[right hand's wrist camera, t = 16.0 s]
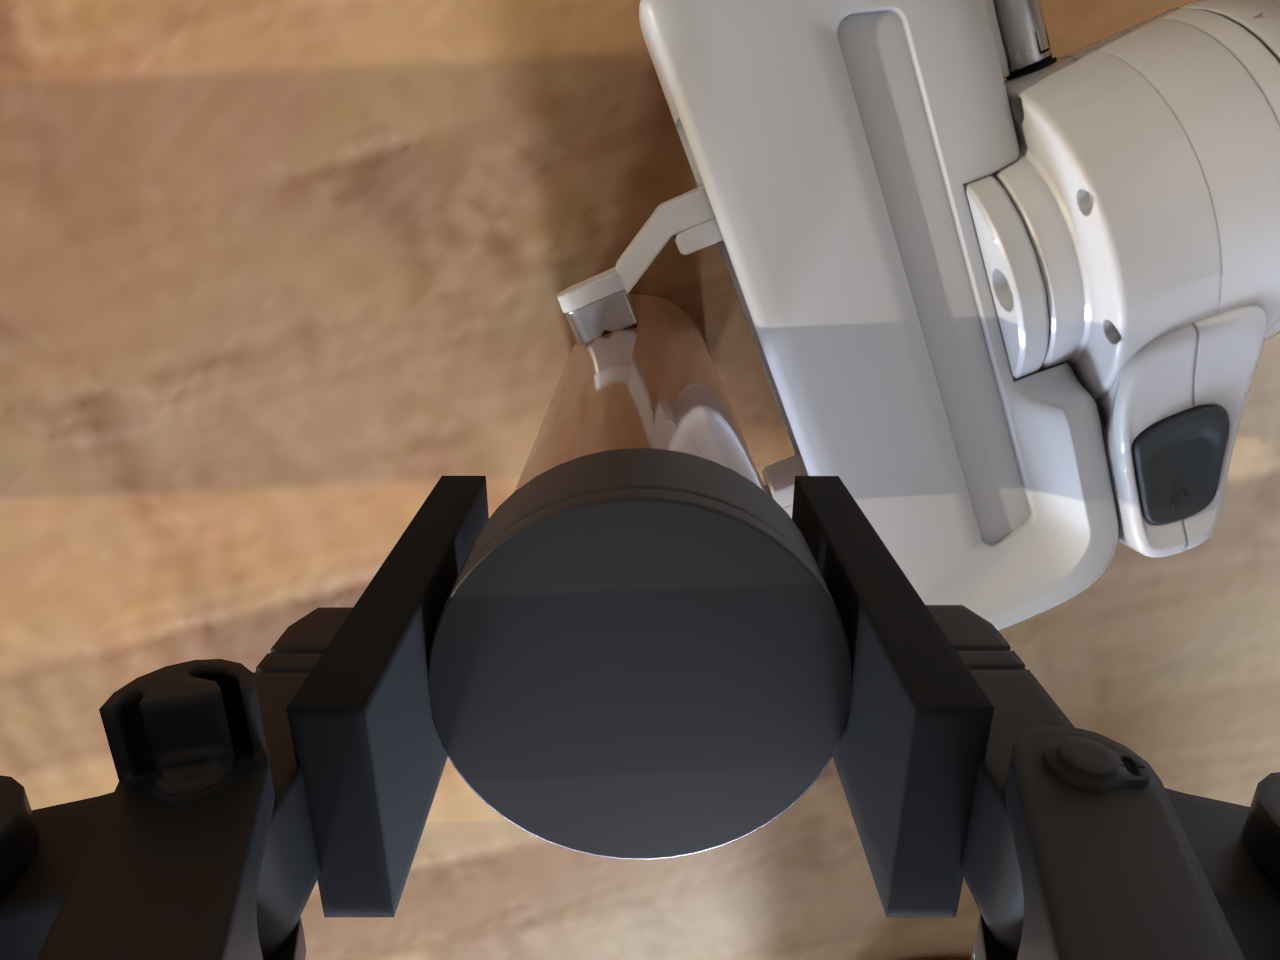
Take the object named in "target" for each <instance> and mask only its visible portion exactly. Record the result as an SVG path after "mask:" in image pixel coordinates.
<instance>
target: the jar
mask: <svg viewBox="0 0 1280 960" xmlns="http://www.w3.org/2000/svg"><path fill="white" fill-rule="evenodd" d="M630 296H631V299H632V302H633V304H634V307H635V309H636V312H637V317H636V318H637V323H636V324H634V325H631V326H629V327H627V328H624V329H622V330H618V331H615V332H610V331H606V330H605V331H604V332H603V334H602V335H601V337H600V338H598V339H596V340H594V341H593V342H590V343H587V344H584V345H578V343H577V341H575V344H574V346H573V349H572V351H571V354H570V356H569V358H568V361H567V363H566V366H565V368H564V371H563V373H562V376H561V378H560V381H559V383H558V385H557V388H556V390H555V393H554V395H553V398H552V400H551V403H550V405H549V408H548V410H547V413H546V415H545V417H544V420H543V422H542V425H541V427H540V430H539V432H538V435H537V437H536V440H535V442H534V444H533V447H532V449H531V452H530V454H529V457H528V459H527V462H526V464H525V467H524V469H523V471H522V474H521V476H520V479H519V481H518V484H517V486H516V489H515V491H516V490H518V489H519V488H520V487H522V486H523V485H525V484H526V483H528V482H529V481H530V480H532V479H533V478H535V477H536V476H538V475H540V474H542V473H544V472H546V471H548V470H549V469H551V468H553V467H555V466H557V465H559V464H562V463H565V462H568V461H570V460H573V459H576V458H579V457H581V456H585V455H590V454H594V453H598V452H603V451H607V450H617V449H628V448H652V449H664V450H671V451H677V452H684V453H687V454H691V455H694V456H698V457H702V458H705V459H709V460H711V461H713V462H716V463H718V464H720V465H723V466H725V467H727V468H730V469H732V470H734V471H735V472H737V473H739V474H740V475H742V476H744V477H745V478H747V479H749V480H750V481H752V482H754V483H755V484H756V485H757V486H759V487H760V488H761V489H762V490H764V491H765V488H764V486H763V483H762V481H761V478H760V476H759V473H758V471H757V469H756V466H755V464H754V461H753V459H752V456H751V454H750V451H749V449H748V446H747V444H746V442H745V439H744V437H743V434H742V432H741V429H740V427H739V424H738V422H737V419H736V417H735V414H734V412H733V410H732V407H731V405H730V402H729V400H728V397H727V395H726V392H725V390H724V387H723V385H722V383H721V380H720V378H719V375H718V373H717V370H716V368H715V365H714V363H713V360H712V358H711V355H710V353H709V351H708V348H707V346H706V343H705V341H704V338H703V336H702V334H701V331H700V329H699V328H698V326H697V324H696V323H695V322H694V320H693V319H692V318H691V317H690V316H689V315H688V314H687V313H686V312H685V311H684V310H683V309H682V308H680V307H679V306H678V305H676V304H674V303H673V302H671V301H669V300H666V299H664V298H661V297H658V296H653V295H646V294H633V295H630ZM515 491H514V492H515ZM765 492H766V491H765Z"/></svg>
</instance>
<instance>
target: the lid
mask: <svg viewBox="0 0 1280 960" xmlns="http://www.w3.org/2000/svg"><path fill="white" fill-rule="evenodd" d="M852 677H853V661H852V655H851V649H850V643H849V638H848V636H847V633H846V630H845V627H844V624H843V621H842V618H841V615H840V613H839V611H838V609H837V606H836V604H835V602H834V600H833V598H832V596H831V593H830V591H829V589H828V587H827V585H826V583H825V580H824V578H823V576H822V574H821V572H820V570H819V567H818V565H817V563H816V561H815V559H814V557H813V554H812V552H811V550H810V548H809V546H808V544H807V542H806V541H805V539H804V537H803V535H802V533H801V531H800V530H799V529H798V527H797V526H796V524H795V523H794V522H793V520H792V519H791V517H790V516H789V515H788V513H787V512H786V511H785V510H784V509H783V508H782V507H781V506H780V505H779V504H778V503H777V502H776V501H775V500H774V499H773V498H772V497H771V496H770V495H769V494H767V493H766V492H765V491H764V490H762V489H761V488H760V487H759V486H757V485H756V484H755V483H754V482H752V481H750V480H749V479H747V478H745V477H744V476H742V475H740V474H739V473H737V472H735V471H734V470H732V469H730V468H727V467H725V466H723V465H720V464H718V463H716V462H713V461H711V460H709V459H705V458H702V457H698V456H694V455H691V454H687V453H684V452H677V451H671V450H664V449H652V448H628V449H617V450H607V451H603V452H598V453H594V454H590V455H585V456H581V457H579V458H576V459H573V460H570V461H568V462H565V463H562V464H559V465H557V466H555V467H553V468H551V469H549V470H548V471H546V472H544V473H542V474H540V475H538V476H536V477H535V478H533V479H532V480H530V481H529V482H528V483H526V484H525V485H523V486H522V487H520V488H519V489H518V490H516V491H515V492H514V493H513V494H512V495H511V496H510V497H509V498H508V499H507V500H505V501H504V502H503V503H502V504H501V505H500V506H499V507H498V508H497V510H496V511H495V512H494V513H493V515H492V516H491V517H490V518H489V519H488V521H487V522H486V523H485V524H484V526H483V528H482V529H481V531H480V533H479V534H478V536H477V538H476V540H475V541H474V543H473V545H472V547H471V549H470V551H469V553H468V555H467V558H466V560H465V562H464V564H463V566H462V568H461V571H460V573H459V575H458V577H457V579H456V581H455V583H454V586H453V588H452V590H451V592H450V595H449V596H448V599H447V601H446V603H445V605H444V607H443V610H442V612H441V615H440V617H439V619H438V622H437V624H436V627H435V629H434V633H433V637H432V642H431V646H430V650H429V656H428V681H429V691H430V700H431V709H432V717H433V722H434V726H435V728H436V731H437V733H438V736H439V738H440V741H441V743H442V746H443V748H444V750H445V751H446V753H447V755H448V757H449V758H450V760H451V762H452V764H453V765H454V767H455V769H456V770H457V771H458V772H459V774H460V775H461V776H462V778H463V779H464V780H465V782H466V783H467V784H468V786H469V787H470V788H471V789H472V790H473V791H474V792H475V793H476V794H477V795H478V796H479V797H480V798H481V799H482V800H483V801H484V802H485V803H486V804H487V805H489V806H490V807H491V808H493V809H494V810H495V811H496V812H498V813H499V814H500V815H501V816H503V817H504V818H505V819H507V820H508V821H510V822H512V823H513V824H515V825H517V826H518V827H520V828H522V829H523V830H525V831H527V832H529V833H531V834H533V835H535V836H537V837H539V838H541V839H544V840H546V841H548V842H550V843H553V844H556V845H559V846H562V847H565V848H568V849H571V850H574V851H579V852H583V853H587V854H592V855H596V856H604V857H612V858H620V859H658V858H671V857H678V856H683V855H688V854H694V853H699V852H702V851H706V850H709V849H712V848H716V847H719V846H722V845H725V844H727V843H730V842H732V841H735V840H737V839H739V838H742V837H744V836H746V835H748V834H750V833H752V832H754V831H755V830H757V829H759V828H761V827H763V826H764V825H766V824H768V823H769V822H771V821H772V820H773V819H775V818H776V817H778V816H779V815H780V814H782V813H783V812H785V811H786V810H787V809H788V808H790V807H791V806H792V805H793V804H794V803H795V802H796V801H797V800H798V799H799V798H801V797H802V796H803V795H804V794H805V793H806V792H807V790H808V789H809V788H810V787H811V786H812V785H813V783H814V782H815V781H816V780H817V779H818V778H819V776H820V775H821V774H822V772H823V770H824V769H825V767H826V766H827V764H828V763H829V761H830V760H831V758H832V757H833V755H834V753H835V750H836V748H837V746H838V744H839V742H840V740H841V738H842V735H843V733H844V729H845V726H846V723H847V719H848V714H849V706H850V697H851V688H852Z"/></svg>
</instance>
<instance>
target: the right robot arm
mask: <svg viewBox="0 0 1280 960" xmlns="http://www.w3.org/2000/svg"><path fill="white" fill-rule="evenodd" d="M488 519H489V517H488V503H487V489H486V476H442V477H441V478H440V480H439V481H438V483H437V484H436V486H435V487H434V489H433V490H432V492H431V493H430V495H429V496H428V498H427V499H426V501H425V502H424V504H423V505H422V507H421V508H420V509H419V511H418V512H417V514H416V515H415V517H414V518H413V520H412V521H411V523H410V524H409V526H408V527H407V529H406V530H405V532H404V533H403V535H402V536H401V538H400V539H399V541H398V542H397V544H396V545H395V547H394V548H393V550H392V551H391V553H390V554H389V556H388V557H387V559H386V560H385V562H384V563H383V564H382V566H381V567H380V569H379V570H378V572H377V573H376V575H375V576H374V578H373V579H372V581H371V582H370V584H369V585H368V587H367V588H366V590H365V591H364V593H363V594H362V596H361V597H360V599H359V600H358V602H357V603H356V605H355V606H354V608H317V609H316V610H314V611H312V612H311V613H309V614H308V615H306V616H305V617H303V618H301V619H300V620H298V621H297V622H295V623H294V624H292V625H291V626H289V627H288V628H287V629H286V631H285V632H284V633H283V634H282V636H281V637H280V638H279V640H278V641H277V642H276V643H275V645H274V646H273V647H272V648H271V653H270V654H267V655H266V656H265V657H264V659H263V660H262V661H261V662H260V664H259V665H258V666H257V667H256V673H252V672H251V671H250V670H248V669H247V668H246V667H245V666H243V665H242V664H241V663H236V662H232V661H227V660H222V659H211V660H193V661H189V662H184V663H180V664H175V665H171V666H166V667H164V668H161V669H159V670H156V671H154V672H151V673H149V674H146V675H144V676H141V677H139V678H137V679H135V680H133V681H132V682H130V683H129V684H127V685H126V686H124V687H122V688H121V689H119V690H118V691H116V692H115V693H113V695H112V696H111V697H110V698H109V699H108V700H107V701H106V702H105V703H104V705H103V706H102V707H101V708H100V709H99V711H100V714H101V718H102V721H103V725H104V728H105V732H106V736H107V739H108V743H109V746H110V750H111V753H112V757H113V761H114V764H115V768H116V771H117V775H118V778H119V783H118V785H117V787H116V790H115V792H113V793H109V794H106V795H102V796H98V797H94V798H89V799H84V800H80V801H75V802H70V803H65V804H61V805H56V806H51V807H47V808H42V809H37V810H33V811H31V808H30V805H29V802H28V799H27V796H26V793H25V790H24V787H23V786H22V785H21V784H19V783H18V782H17V781H16V780H14V779H13V778H12V777H7V776H0V960H305V954H306V946H305V938H304V931H303V926H302V921H301V916H300V915H301V913H302V911H303V909H304V907H305V905H306V902H307V900H308V898H309V896H310V894H311V892H312V890H313V887H314V885H315V883H316V881H317V879H318V884H319V890H320V895H321V901H322V906H323V912H324V917H394V915H395V912H396V909H397V906H398V903H399V900H400V897H401V894H402V891H403V888H404V885H405V882H406V879H407V876H408V873H409V870H410V868H411V865H412V862H413V859H414V856H415V853H416V850H417V847H418V844H419V841H420V838H421V835H422V832H423V829H424V826H425V823H426V820H427V817H428V814H429V811H430V808H431V805H432V802H433V799H434V796H435V793H436V790H437V787H438V784H439V781H440V778H441V775H442V772H443V769H444V766H445V763H446V760H447V757H448V755H447V753H446V751H445V750H444V748H443V746H442V743H441V741H440V738H439V736H438V733H437V731H436V728H435V726H434V722H433V717H432V709H431V700H430V691H429V681H428V656H429V650H430V646H431V642H432V637H433V633H434V629H435V627H436V624H437V622H438V619H439V617H440V615H441V612H442V610H443V607H444V605H445V603H446V601H447V599H448V596H449V595H450V592H451V590H452V588H453V586H454V583H455V581H456V579H457V577H458V575H459V573H460V571H461V568H462V566H463V564H464V562H465V560H466V558H467V555H468V553H469V551H470V549H471V547H472V545H473V543H474V541H475V540H476V538H477V536H478V534H479V533H480V531H481V529H482V528H483V526H484V524H485V523H486V522H487V521H488ZM792 520H793V522H794V523H795V524H796V526H797V527H798V529H799V530H800V531H801V533H802V535H803V537H804V539H805V541H806V542H807V544H808V546H809V548H810V550H811V552H812V554H813V557H814V559H815V561H816V563H817V565H818V567H819V570H820V572H821V574H822V576H823V578H824V580H825V583H826V585H827V587H828V589H829V591H830V593H831V596H832V598H833V600H834V602H835V604H836V606H837V609H838V611H839V613H840V615H841V618H842V621H843V624H844V627H845V630H846V633H847V636H848V638H849V643H850V649H851V655H852V661H853V677H852V688H851V697H850V706H849V714H848V719H847V723H846V726H845V729H844V733H843V735H842V738H841V740H840V742H839V744H838V746H837V748H836V750H835V753H834V755H833V758H834V761H835V764H836V767H837V770H838V773H839V776H840V779H841V782H842V785H843V788H844V791H845V794H846V797H847V800H848V803H849V806H850V809H851V812H852V815H853V818H854V821H855V824H856V827H857V830H858V833H859V836H860V839H861V842H862V845H863V848H864V851H865V854H866V857H867V860H868V863H869V866H870V869H871V872H872V875H873V878H874V881H875V884H876V887H877V890H878V893H879V896H880V899H881V902H882V905H883V908H884V911H885V914H886V917H956V914H957V909H958V903H959V898H960V892H961V887H962V882H963V876H964V878H965V880H966V882H967V884H968V886H969V889H970V891H971V893H972V895H973V897H974V899H975V901H976V904H977V906H978V908H979V910H980V916H979V921H978V926H977V931H976V936H975V941H974V946H973V951H972V956H971V960H1280V772H1278V773H1271V774H1269V775H1268V776H1267V777H1266V778H1264V779H1263V780H1262V781H1261V782H1259V783H1258V786H1257V789H1256V792H1255V795H1254V798H1253V801H1252V804H1251V807H1246V806H1242V805H1237V804H1232V803H1227V802H1223V801H1218V800H1213V799H1208V798H1204V797H1199V796H1194V795H1190V794H1185V793H1181V792H1177V791H1173V790H1170V789H1166V788H1164V786H1163V784H1162V782H1161V780H1160V779H1159V777H1158V776H1157V775H1156V773H1155V772H1154V771H1153V769H1152V768H1151V767H1150V765H1149V764H1148V763H1147V762H1146V761H1145V760H1143V759H1142V758H1141V757H1139V756H1138V755H1137V754H1135V753H1134V752H1132V751H1131V750H1130V749H1128V748H1127V747H1126V746H1124V745H1122V744H1120V743H1117V742H1115V741H1113V740H1111V739H1109V738H1107V737H1105V736H1102V735H1100V734H1098V733H1094V732H1090V731H1086V730H1082V729H1078V728H1075V727H1074V726H1073V725H1072V723H1071V722H1070V721H1069V720H1068V718H1067V717H1066V716H1065V715H1064V713H1063V712H1062V711H1061V710H1060V708H1059V707H1058V706H1057V705H1056V703H1055V702H1054V701H1053V700H1052V698H1051V697H1050V696H1049V695H1048V693H1047V692H1046V691H1045V690H1044V688H1043V687H1042V686H1041V684H1040V683H1039V682H1038V681H1037V679H1036V678H1035V677H1034V676H1033V674H1032V673H1031V672H1030V671H1029V670H1025V664H1024V663H1023V662H1022V661H1021V659H1020V658H1019V657H1018V656H1017V654H1016V653H1015V652H1014V651H1010V646H1009V644H1008V643H1007V642H1006V640H1005V639H1004V638H1003V637H1002V635H1001V634H1000V633H999V632H998V630H997V629H996V628H995V627H994V625H993V624H992V623H990V622H988V621H987V620H985V619H984V618H982V617H981V616H979V615H977V614H976V613H974V612H973V611H971V610H970V609H968V608H966V607H965V606H963V605H925V604H924V602H923V601H922V599H921V598H920V596H919V595H918V593H917V592H916V590H915V589H914V587H913V586H912V584H911V583H910V581H909V580H908V579H907V577H906V576H905V574H904V573H903V571H902V570H901V568H900V567H899V565H898V564H897V562H896V561H895V559H894V558H893V556H892V555H891V553H890V552H889V550H888V549H887V547H886V546H885V544H884V543H883V541H882V540H881V538H880V537H879V535H878V534H877V532H876V531H875V529H874V528H873V527H872V525H871V524H870V522H869V521H868V519H867V518H866V516H865V515H864V513H863V512H862V510H861V509H860V507H859V506H858V504H857V503H856V501H855V500H854V498H853V497H852V495H851V494H850V492H849V491H848V489H847V488H846V486H845V485H844V483H843V482H842V480H841V479H840V477H839V476H795V482H794V496H793V510H792Z"/></svg>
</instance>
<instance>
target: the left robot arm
mask: <svg viewBox="0 0 1280 960" xmlns="http://www.w3.org/2000/svg"><path fill="white" fill-rule="evenodd" d="M639 20H640V27H641V30H642V34H643V36H644V39H645V42H646V45H647V48H648V51H649V53H650V56H651V59H652V62H653V64H654V67H655V70H656V73H657V75H658V78H659V81H660V84H661V86H662V89H663V92H664V95H665V97H666V100H667V103H668V106H669V109H670V111H671V114H672V117H673V120H674V122H675V125H676V128H677V131H678V133H679V136H680V139H681V142H682V144H683V147H684V150H685V153H686V155H687V158H688V161H689V164H690V166H691V169H692V172H693V175H694V177H695V180H696V183H697V186H698V187H697V188H695V189H693V190H690V191H688V192H686V193H684V194H681V195H679V196H677V197H675V198H672V199H670V200H668V201H666V202H663V203H661V204H659V205H658V207H657V208H656V209H655V211H654V212H653V213H652V215H651V216H650V217H649V219H648V220H647V221H646V223H645V224H644V225H643V227H642V228H641V230H640V231H639V232H638V234H637V235H636V236H635V238H634V239H633V240H632V242H631V243H630V244H629V246H628V247H627V248H626V250H625V251H624V252H623V254H622V255H621V257H620V258H619V259H618V261H617V263H616V267H614V268H611V269H609V270H607V271H604V272H602V273H600V274H597V275H595V276H593V277H590V278H588V279H586V280H583V281H581V282H579V283H576V284H574V285H572V286H570V287H568V288H566V289H565V290H563V291H561V292H560V293H559V294H558V295H557V298H558V301H559V303H560V306H561V308H562V311H563V313H564V315H565V317H566V319H567V321H568V323H569V325H570V328H571V330H572V332H573V334H574V336H575V338H576V341H577V343H578V345H584V344H587V343H590V342H593V341H594V340H596V339H598V338H600V337H601V335H602V334H603V332H604V331H605V330H606V331H610V332H615V331H618V330H622V329H624V328H627V327H629V326H631V325H634V324H636V323H637V318H636V317H637V312H636V309H635V307H634V304H633V302H632V299H631V296H630V294H629V292H630V291H631V289H632V288H633V287H634V285H635V284H636V283H637V281H638V280H639V279H640V277H641V276H642V275H643V274H644V272H645V271H646V270H647V268H648V267H649V266H650V264H651V263H652V262H653V260H654V259H655V258H656V257H657V255H658V254H659V253H660V251H661V250H662V249H663V247H664V246H665V245H666V243H667V242H668V241H669V239H670V238H671V237H672V236H673V238H674V241H675V244H676V246H677V248H678V250H679V252H680V253H681V254H684V255H688V254H690V253H693V252H695V251H698V250H700V249H703V248H705V247H708V246H710V245H713V244H715V243H718V244H719V246H720V249H721V252H722V255H723V257H724V260H725V263H726V266H727V268H728V271H729V274H730V277H731V279H732V282H733V285H734V288H735V290H736V293H737V296H738V299H739V301H740V304H741V307H742V310H743V313H744V315H745V318H746V321H747V324H748V326H749V329H750V332H751V335H752V337H753V340H754V343H755V346H756V348H757V351H758V354H759V357H760V359H761V362H762V365H763V368H764V370H765V373H766V376H767V379H768V381H769V384H770V387H771V390H772V392H773V395H774V398H775V401H776V403H777V406H778V409H779V412H780V415H781V417H782V420H783V423H784V426H785V428H786V431H787V434H788V437H789V439H790V442H791V445H792V448H793V450H794V453H795V456H792V457H790V458H787V459H785V460H782V461H780V462H777V463H775V464H772V465H770V466H767V467H765V468H764V469H763V471H762V472H763V475H764V478H765V480H766V483H767V485H763V486H764V488H765V491H766V493H767V494H769V495H770V496H771V497H772V498H773V499H774V500H775V501H776V502H777V503H778V504H779V505H780V506H781V507H782V508H783V509H784V510H785V511H786V512H787V513H788V515H789V516H790V517H791V519H792V510H793V496H794V482H795V476H839V477H840V479H841V480H842V482H843V483H844V485H845V486H846V488H847V489H848V491H849V492H850V494H851V495H852V497H853V498H854V500H855V501H856V503H857V504H858V506H859V507H860V509H861V510H862V512H863V513H864V515H865V516H866V518H867V519H868V521H869V522H870V524H871V525H872V527H873V528H874V529H875V531H876V532H877V534H878V535H879V537H880V538H881V540H882V541H883V543H884V544H885V546H886V547H887V549H888V550H889V552H890V553H891V555H892V556H893V558H894V559H895V561H896V562H897V564H898V565H899V567H900V568H901V570H902V571H903V573H904V574H905V576H906V577H907V579H908V580H909V581H910V583H911V584H912V586H913V587H914V589H915V590H916V592H917V593H918V595H919V596H920V598H921V599H922V601H923V602H924V604H925V605H963V606H965V607H966V608H968V609H970V610H971V611H973V612H974V613H976V614H977V615H979V616H981V617H982V618H984V619H985V620H987V621H988V622H990V623H992V624H993V625H994V627H995V628H996V629H997V630H998V631H999V630H1001V629H1004V628H1006V627H1009V626H1011V625H1014V624H1016V623H1019V622H1021V621H1024V620H1026V619H1028V618H1031V617H1033V616H1035V615H1038V614H1040V613H1042V612H1044V611H1047V610H1049V609H1051V608H1053V607H1055V606H1057V605H1060V604H1062V603H1064V602H1066V601H1067V600H1069V599H1071V598H1073V597H1074V596H1076V595H1078V594H1079V593H1081V592H1082V591H1084V590H1085V589H1086V588H1088V587H1089V586H1090V585H1092V584H1093V583H1094V582H1095V581H1096V580H1097V579H1098V578H1099V577H1100V576H1101V575H1102V574H1103V573H1104V571H1105V570H1106V569H1107V567H1108V566H1109V564H1110V563H1111V561H1112V558H1113V556H1114V554H1115V551H1116V548H1117V543H1118V540H1119V541H1120V542H1122V543H1124V544H1125V545H1127V546H1129V547H1131V548H1132V549H1134V550H1136V551H1137V552H1139V553H1141V554H1143V555H1145V556H1148V557H1153V558H1158V557H1166V556H1170V555H1174V554H1177V553H1180V552H1184V551H1186V550H1189V549H1191V548H1194V547H1196V546H1198V545H1200V544H1201V543H1203V542H1204V541H1206V540H1207V539H1208V538H1209V537H1210V536H1211V534H1212V533H1213V531H1214V530H1215V528H1216V525H1217V523H1218V520H1219V517H1220V513H1221V508H1222V503H1223V498H1224V492H1225V487H1226V481H1227V476H1228V471H1229V466H1230V461H1231V456H1232V451H1233V447H1234V442H1235V438H1236V433H1237V429H1238V425H1239V421H1240V417H1241V413H1242V409H1243V406H1244V403H1245V399H1246V396H1247V392H1248V389H1249V386H1250V383H1251V380H1252V377H1253V374H1254V371H1255V369H1256V366H1257V363H1258V360H1259V357H1260V355H1261V352H1262V348H1263V345H1264V340H1265V339H1267V338H1270V337H1272V336H1275V335H1277V334H1278V333H1280V0H1202V1H1197V2H1194V3H1190V4H1187V5H1183V6H1180V7H1177V8H1174V9H1171V10H1169V11H1166V12H1164V13H1162V14H1160V15H1158V16H1155V17H1153V18H1151V19H1148V20H1146V21H1144V22H1141V23H1139V24H1137V25H1134V26H1132V27H1130V28H1127V29H1125V30H1123V31H1120V32H1118V33H1116V34H1113V35H1111V36H1109V37H1106V38H1104V39H1102V40H1099V41H1097V42H1095V43H1092V44H1090V45H1088V46H1085V47H1083V48H1081V49H1078V50H1076V51H1074V52H1071V53H1069V54H1066V55H1064V56H1061V57H1059V58H1057V59H1056V57H1055V58H1052V55H1051V51H1050V45H1049V40H1048V36H1047V32H1046V27H1045V23H1044V18H1043V13H1042V9H1041V4H1040V0H640V6H639ZM1009 75H1010V76H1009ZM1006 76H1008V77H1007V81H1005V82H1004V77H1006Z"/></svg>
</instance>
